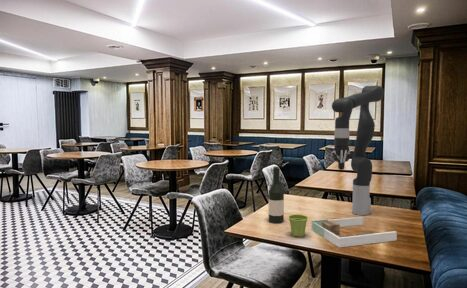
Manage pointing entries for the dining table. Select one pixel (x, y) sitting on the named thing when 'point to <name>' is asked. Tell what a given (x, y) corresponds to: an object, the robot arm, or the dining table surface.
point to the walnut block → (332, 227)
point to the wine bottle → (276, 200)
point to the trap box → (351, 240)
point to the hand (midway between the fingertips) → (341, 169)
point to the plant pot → (298, 224)
